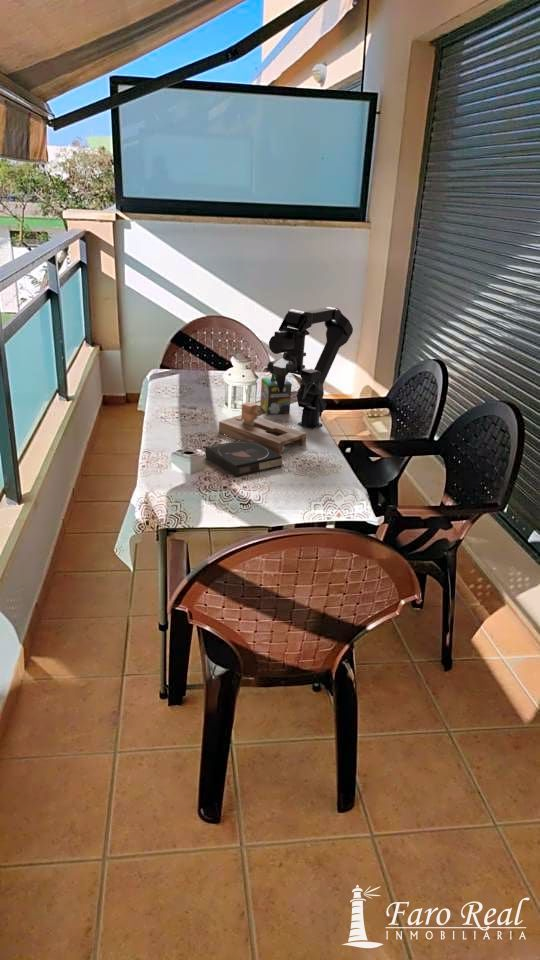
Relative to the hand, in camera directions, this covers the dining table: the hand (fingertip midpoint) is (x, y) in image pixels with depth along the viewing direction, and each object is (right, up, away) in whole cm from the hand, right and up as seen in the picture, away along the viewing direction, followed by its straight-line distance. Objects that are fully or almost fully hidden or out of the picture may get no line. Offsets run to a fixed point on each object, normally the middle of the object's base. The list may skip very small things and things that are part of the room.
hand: (291, 395), depth 225 cm
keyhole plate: (-10, -14, -2) cm, 18 cm away
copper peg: (-15, -13, +1) cm, 19 cm away
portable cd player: (-15, -23, -22) cm, 36 cm away
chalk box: (-6, -2, +27) cm, 28 cm away
